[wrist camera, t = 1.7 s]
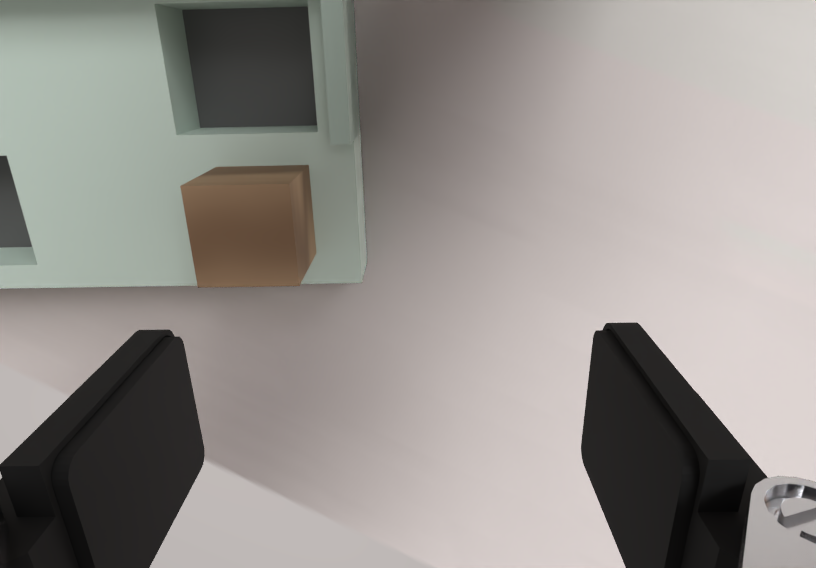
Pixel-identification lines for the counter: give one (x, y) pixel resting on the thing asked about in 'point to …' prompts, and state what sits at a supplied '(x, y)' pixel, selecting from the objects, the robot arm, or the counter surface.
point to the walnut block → (250, 225)
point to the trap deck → (168, 130)
